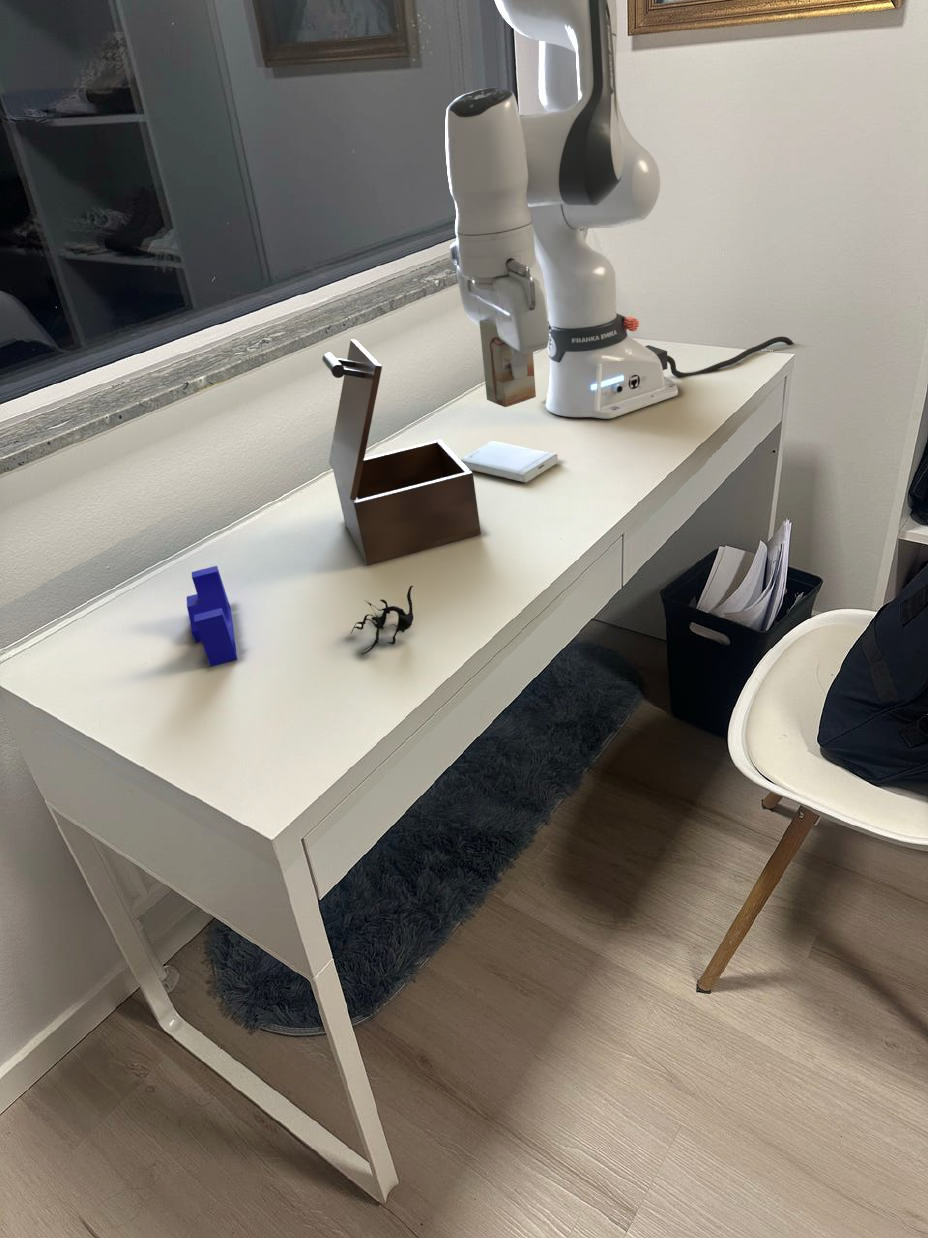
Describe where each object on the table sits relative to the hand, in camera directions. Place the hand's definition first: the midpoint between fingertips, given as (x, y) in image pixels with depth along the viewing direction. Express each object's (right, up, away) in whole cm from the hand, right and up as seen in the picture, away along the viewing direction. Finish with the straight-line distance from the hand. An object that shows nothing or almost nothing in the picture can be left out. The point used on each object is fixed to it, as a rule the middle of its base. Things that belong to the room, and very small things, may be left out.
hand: (509, 370), depth 110 cm
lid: (-19, -6, +1) cm, 20 cm away
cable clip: (-35, -33, -6) cm, 48 cm away
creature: (-15, -33, -11) cm, 38 cm away
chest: (-13, -19, +11) cm, 25 cm away
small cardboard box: (0, -3, +2) cm, 4 cm away
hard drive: (+1, -8, +24) cm, 26 cm away
